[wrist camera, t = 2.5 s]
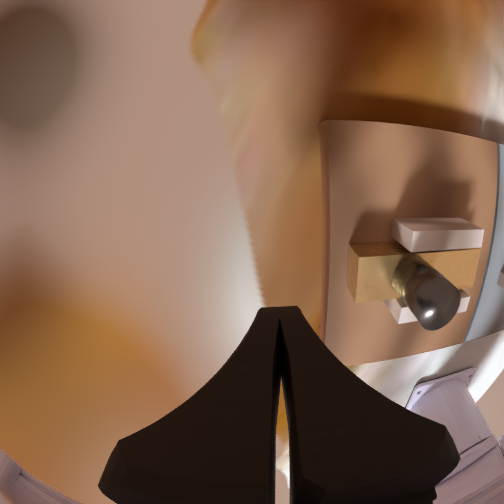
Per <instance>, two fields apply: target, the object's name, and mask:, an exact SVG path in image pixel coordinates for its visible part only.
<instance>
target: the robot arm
mask: <svg viewBox="0 0 504 504" xmlns="http://www.w3.org/2000/svg"><path fill="white" fill-rule="evenodd" d="M474 373H475V368H474V367H472V368H469V369H466V370H463V371H461V372H458V373H455V374H451V375H448V376H445V377H442V378H438V379H435V380H431V381H428V382H424V383H420V384H418V385H417V386H416V387H415V389H414V391H413V393H412V396H411V398H410V400H409V402H408V404H407V406H406V408H404V407H402V406H400V405H399V404H397V403H395V402H393V401H391V400H390V399H388V398H387V397H385V396H384V395H382V394H381V393H379V392H378V391H376V390H375V389H373V388H372V387H370V386H369V385H367V384H366V383H365V382H364V381H362V380H361V379H360V378H359V377H357V376H356V375H355V374H354V373H353V372H352V371H350V370H349V369H348V368H347V367H346V366H345V365H344V364H343V363H342V362H341V361H340V360H339V359H338V358H337V357H336V356H335V355H334V354H333V353H332V352H331V351H330V350H329V349H328V347H327V346H326V345H325V344H324V343H323V342H322V340H321V339H320V338H319V337H318V335H317V334H316V333H315V332H314V330H313V329H312V327H311V326H310V325H309V323H308V322H307V320H306V319H305V317H304V315H303V314H302V312H301V310H300V308H299V307H297V306H286V307H265V308H260V309H259V310H258V312H257V315H256V317H255V319H254V321H253V323H252V325H251V327H250V329H249V330H248V332H247V333H246V335H245V337H244V338H243V340H242V341H241V343H240V344H239V346H238V347H237V349H236V350H235V351H234V353H233V354H232V355H231V357H230V358H229V359H228V360H227V362H226V363H225V364H224V365H223V366H222V368H221V369H220V370H219V371H218V372H217V373H216V374H215V375H214V376H213V377H212V378H211V379H210V380H209V381H208V382H207V383H206V384H205V385H204V386H203V387H202V388H201V389H200V390H198V391H197V392H196V393H195V394H194V395H193V396H192V397H190V398H189V399H188V400H187V401H186V402H184V403H183V404H181V405H180V406H179V407H177V408H176V409H174V410H173V411H172V412H170V413H168V414H167V415H166V416H164V417H163V418H161V419H160V420H158V421H156V422H155V423H153V424H151V425H149V426H147V427H145V428H143V429H141V430H140V431H138V432H136V433H134V434H132V435H130V436H127V437H125V438H123V439H121V440H119V441H118V443H117V445H116V447H115V448H114V450H113V451H112V453H111V455H110V457H109V459H108V462H107V464H106V467H105V469H104V471H103V474H102V477H101V479H100V481H99V484H98V487H99V489H100V490H101V491H102V493H103V494H104V495H105V496H107V497H108V498H109V499H111V500H113V501H114V502H115V503H117V504H275V462H276V455H275V454H276V448H275V447H276V443H275V441H276V424H277V415H278V405H279V394H280V382H281V379H282V386H283V393H284V400H285V407H286V414H287V422H288V430H289V458H290V504H504V454H503V452H504V435H501V436H500V437H499V438H498V440H499V442H500V444H501V448H502V450H503V452H502V450H501V448H500V446H499V444H498V442H497V440H496V438H495V436H494V435H493V434H492V432H491V430H490V428H489V426H488V425H487V422H486V421H485V419H484V417H483V415H482V413H481V412H480V410H479V408H478V406H477V405H476V403H475V401H474V399H473V398H472V396H471V394H470V393H469V391H468V389H467V388H466V387H467V386H468V384H469V382H470V380H471V378H472V376H473V375H474ZM0 504H82V503H80V502H78V501H76V500H74V499H72V498H70V497H68V496H66V495H64V494H63V493H61V492H59V491H57V490H56V489H53V488H52V487H50V486H49V485H47V484H45V483H44V482H42V481H41V480H39V479H37V478H36V477H34V476H33V475H31V474H30V473H28V472H27V471H26V470H24V469H23V468H22V467H21V466H20V465H19V464H18V463H17V462H16V461H14V460H13V459H12V458H11V457H10V456H9V455H7V454H6V453H5V452H4V451H3V450H1V449H0Z"/></svg>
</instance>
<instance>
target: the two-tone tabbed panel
mask: <svg viewBox="0 0 504 504" xmlns="http://www.w3.org/2000/svg"><path fill="white" fill-rule="evenodd" d="M319 133H320V149H321V167H322V194H323V274H322V301H321V320H320V335H319V338H320V339H321V340H322V342H323V343H324V344H325V345H326V346H327V347H328V349H329V350H330V351H331V352H332V353H333V354H334V355H335V356H336V357H337V358H338V359H339V360H340V361H341V362H342V363H343V364H344V365H345V366H350V365H358V364H365V363H372V362H378V361H384V360H390V359H395V358H401V357H406V356H411V355H415V354H420V353H424V352H429V351H433V350H437V349H441V348H445V347H449V346H453V345H456V344H460V343H463V341H465V342H467V341H470V340H473V339H477V338H480V337H483V336H486V335H489V334H492V333H495V332H498V331H500V330H503V329H504V145H503V144H500V143H496V142H493V141H489V140H485V139H481V138H477V137H473V136H468V135H464V134H459V133H454V132H449V131H443V130H438V129H432V128H425V127H418V126H411V125H403V124H393V123H383V122H370V121H353V120H325V121H323V122H321V123H319ZM390 242H399V243H400V244H401V245H403V246H404V247H405V248H406V249H408V250H409V251H410V252H422V251H437V250H451V249H466V248H480V249H481V252H480V257H479V262H478V267H477V271H476V276H475V280H474V284H473V287H471V288H465V289H459V292H460V295H461V301H460V306H459V309H458V311H457V313H456V315H455V316H454V317H453V319H452V320H451V321H450V322H449V323H448V324H447V325H445V326H444V327H442V328H440V329H438V330H434V331H429V330H426V329H424V328H423V327H422V325H421V324H420V323H419V321H418V320H417V319H416V317H415V316H414V315H413V313H412V312H411V311H410V309H409V308H408V307H407V305H406V304H405V303H404V301H403V300H402V299H401V298H395V299H386V300H377V301H368V302H357V303H355V302H354V300H353V298H352V296H351V294H350V292H349V290H348V288H347V272H348V254H349V245H350V244H370V243H390Z"/></svg>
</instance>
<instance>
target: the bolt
mask: <svg viewBox="0 0 504 504" xmlns="http://www.w3.org/2000/svg"><path fill="white" fill-rule="evenodd" d="M480 252H481V249H480V248H466V249H451V250H437V251H422V252H410V251H409V250H408V249H406V248H405V247H404V246H403V245H401V244H400V243H399V242H390V243H370V244H350V245H349V254H348V272H347V288H348V290H349V292H350V294H351V296H352V298H353V300H354V302H355V303H357V302H368V301H377V300H386V299H395V298H401V299H402V300H403V301H404V303H405V304H406V305H407V307H408V308H409V309H410V311H411V312H412V313H413V315H414V316H415V317H416V319H417V320H418V321H419V323H420V324H421V325H422V327H423V328H424V329H426V330H429V331H434V330H438V329H440V328H442V327H444V326H445V325H447V324H448V323H449V322H450V321H451V320H452V319H453V317H454V316H455V315H456V313H457V311H458V309H459V306H460V301H461V295H460V292H459V289H465V288H471V287H473V284H474V280H475V276H476V271H477V267H478V262H479V257H480Z"/></svg>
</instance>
